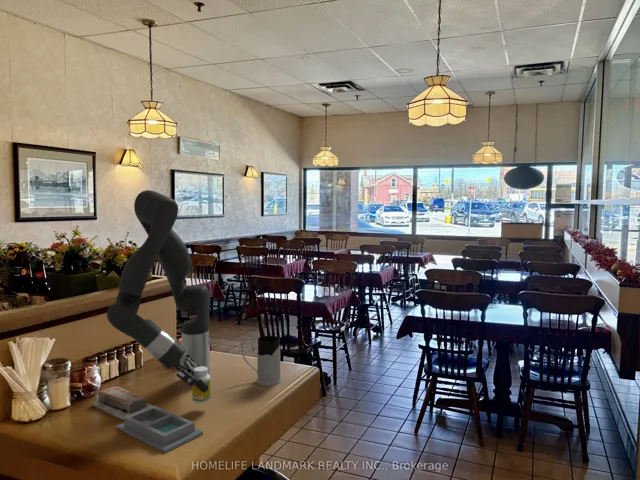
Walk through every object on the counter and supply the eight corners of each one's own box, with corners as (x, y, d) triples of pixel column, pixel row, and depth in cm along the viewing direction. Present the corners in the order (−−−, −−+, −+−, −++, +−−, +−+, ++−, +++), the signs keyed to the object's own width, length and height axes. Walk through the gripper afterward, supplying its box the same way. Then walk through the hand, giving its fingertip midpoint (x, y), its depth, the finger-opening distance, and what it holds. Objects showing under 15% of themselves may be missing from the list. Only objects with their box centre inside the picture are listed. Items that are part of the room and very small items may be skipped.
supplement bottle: (206, 404, 145) (205, 372, 144) (189, 402, 147) (188, 371, 145) (213, 396, 151) (213, 366, 150) (197, 395, 152) (196, 364, 151)
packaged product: (91, 392, 151) (120, 382, 159) (91, 407, 152) (121, 396, 160) (125, 406, 141) (155, 395, 149) (126, 422, 141) (155, 410, 149)
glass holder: (278, 386, 167) (277, 343, 165) (238, 383, 169) (237, 340, 168) (284, 376, 175) (284, 335, 174) (246, 374, 178) (245, 333, 176)
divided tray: (116, 428, 137) (116, 417, 137) (153, 412, 146) (153, 402, 146) (165, 452, 124) (165, 440, 124) (202, 434, 133) (202, 422, 133)
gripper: (170, 348, 138) (214, 386, 141) (177, 332, 153) (217, 368, 156) (151, 367, 138) (196, 405, 141) (160, 350, 152) (201, 385, 155)
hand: (207, 385), depth 148 cm, fingers closed on supplement bottle, 5 cm apart
